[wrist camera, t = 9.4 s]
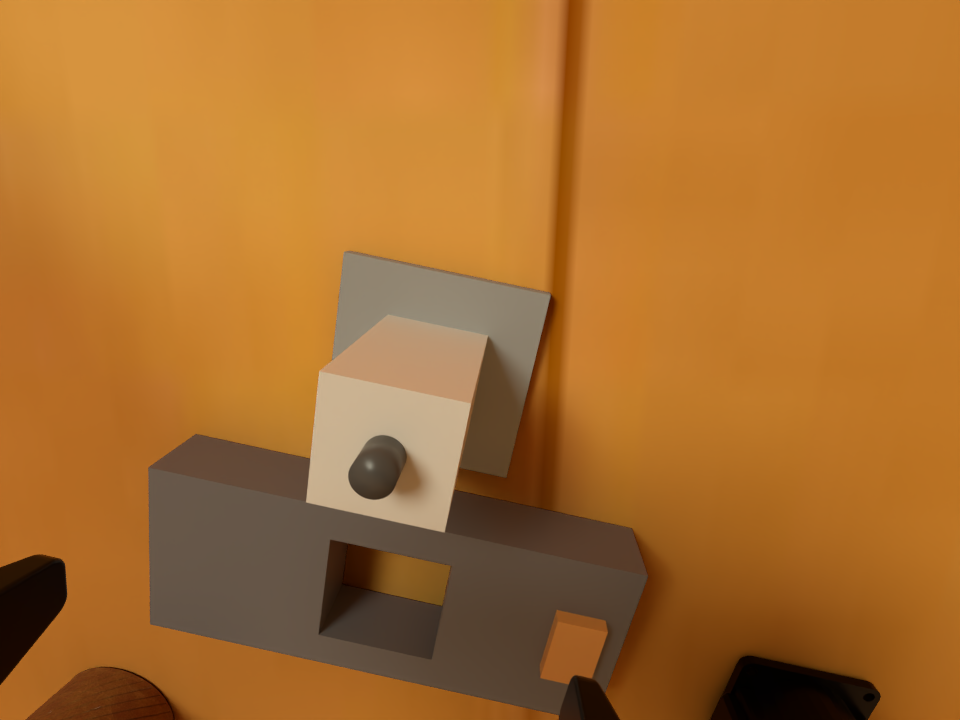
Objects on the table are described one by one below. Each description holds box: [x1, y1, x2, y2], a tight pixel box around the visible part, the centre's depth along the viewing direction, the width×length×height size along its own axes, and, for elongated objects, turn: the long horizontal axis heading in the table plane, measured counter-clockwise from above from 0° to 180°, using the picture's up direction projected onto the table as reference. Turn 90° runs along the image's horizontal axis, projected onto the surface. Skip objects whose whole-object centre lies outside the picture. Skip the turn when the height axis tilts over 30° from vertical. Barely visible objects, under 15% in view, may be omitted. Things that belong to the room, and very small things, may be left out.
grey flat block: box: [148, 434, 648, 715], centre depth 22 cm, size 20×8×4 cm, turn 79°
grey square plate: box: [332, 251, 551, 478], centre depth 20 cm, size 8×8×1 cm
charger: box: [306, 315, 488, 533], centre depth 16 cm, size 4×4×8 cm
